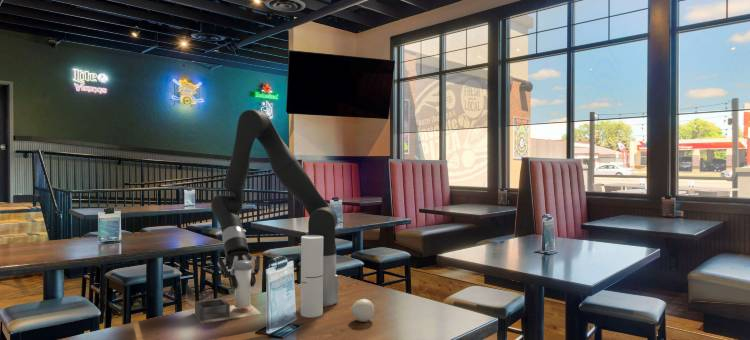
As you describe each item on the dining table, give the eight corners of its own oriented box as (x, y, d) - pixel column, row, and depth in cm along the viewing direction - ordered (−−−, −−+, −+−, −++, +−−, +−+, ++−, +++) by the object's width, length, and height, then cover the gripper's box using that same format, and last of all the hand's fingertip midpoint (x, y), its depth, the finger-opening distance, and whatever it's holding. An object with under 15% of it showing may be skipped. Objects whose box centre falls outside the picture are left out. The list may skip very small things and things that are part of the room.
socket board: (249, 307, 155) (249, 292, 155) (261, 318, 144) (261, 302, 144) (192, 315, 146) (192, 300, 146) (200, 328, 135) (200, 311, 135)
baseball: (350, 317, 146) (350, 296, 146) (373, 317, 147) (373, 296, 147) (351, 325, 139) (351, 303, 139) (375, 324, 140) (375, 302, 140)
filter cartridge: (248, 301, 151) (249, 259, 151) (253, 306, 147) (253, 262, 147) (231, 304, 149) (232, 261, 148) (236, 309, 144) (236, 264, 144)
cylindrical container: (318, 318, 145) (319, 238, 145) (297, 316, 146) (297, 238, 146) (325, 311, 152) (326, 235, 152) (305, 309, 153) (305, 234, 153)
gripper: (214, 237, 150) (223, 282, 140) (258, 234, 157) (269, 277, 147) (211, 250, 155) (219, 295, 145) (253, 247, 162) (264, 289, 152)
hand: (244, 286), depth 146 cm, fingers closed on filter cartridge, 5 cm apart
